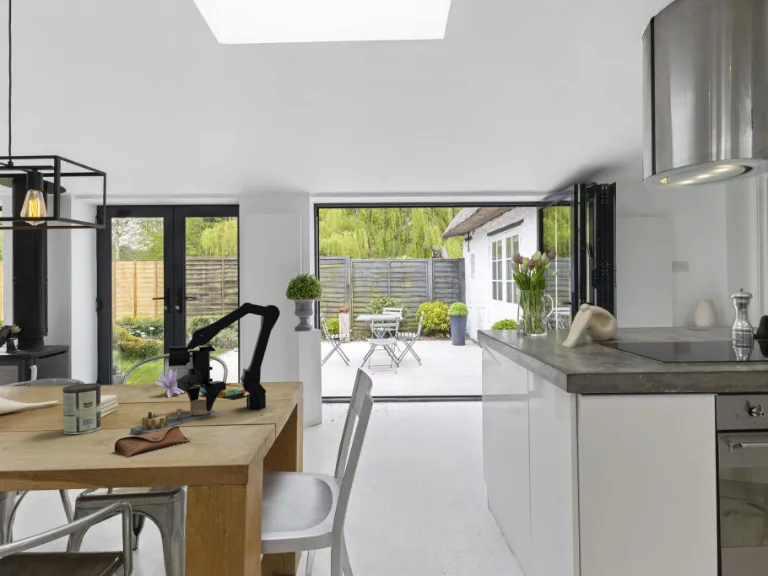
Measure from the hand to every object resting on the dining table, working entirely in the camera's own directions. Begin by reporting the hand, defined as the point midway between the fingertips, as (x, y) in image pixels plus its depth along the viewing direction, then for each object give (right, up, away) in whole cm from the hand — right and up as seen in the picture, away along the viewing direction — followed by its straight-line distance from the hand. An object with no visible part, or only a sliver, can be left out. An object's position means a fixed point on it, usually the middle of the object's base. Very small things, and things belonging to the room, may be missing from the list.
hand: (201, 409), depth 161 cm
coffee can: (-33, -3, -13) cm, 36 cm away
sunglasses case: (-2, -3, -30) cm, 30 cm away
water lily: (-27, -4, +38) cm, 47 cm away
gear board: (-4, -3, -8) cm, 9 cm away
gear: (0, -1, 0) cm, 1 cm away
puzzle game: (-4, -4, +35) cm, 35 cm away
